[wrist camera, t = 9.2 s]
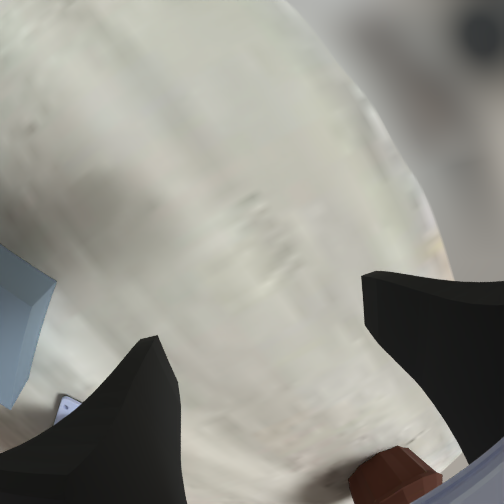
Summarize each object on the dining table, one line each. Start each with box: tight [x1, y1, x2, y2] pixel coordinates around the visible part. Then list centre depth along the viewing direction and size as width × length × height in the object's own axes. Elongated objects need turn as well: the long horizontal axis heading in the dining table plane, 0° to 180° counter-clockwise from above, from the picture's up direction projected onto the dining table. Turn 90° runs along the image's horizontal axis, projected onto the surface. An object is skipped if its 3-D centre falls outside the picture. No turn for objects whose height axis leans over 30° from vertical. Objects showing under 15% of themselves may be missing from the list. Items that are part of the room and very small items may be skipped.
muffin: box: [348, 446, 442, 504], centre depth 25 cm, size 12×11×10 cm
